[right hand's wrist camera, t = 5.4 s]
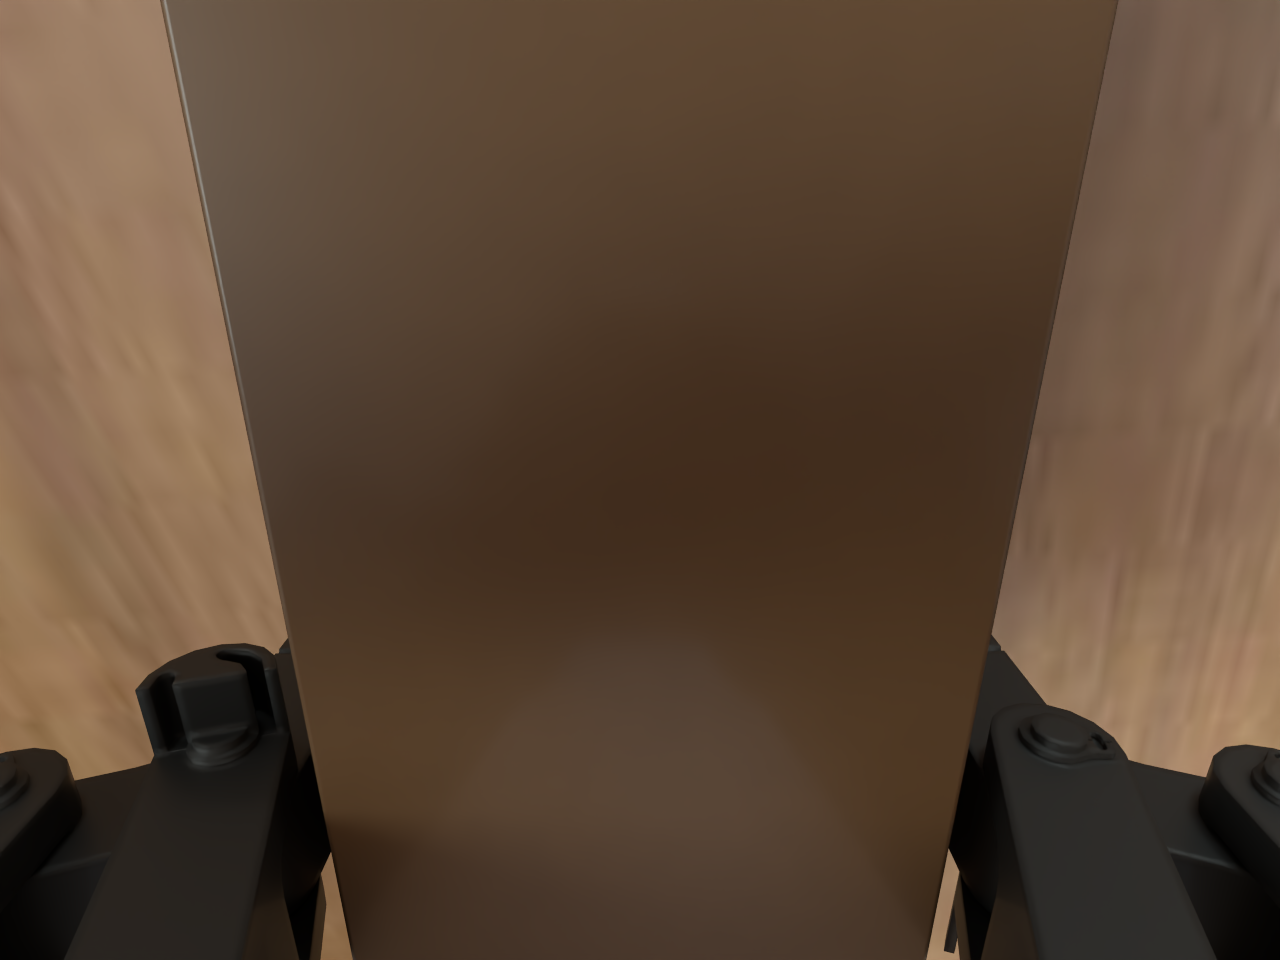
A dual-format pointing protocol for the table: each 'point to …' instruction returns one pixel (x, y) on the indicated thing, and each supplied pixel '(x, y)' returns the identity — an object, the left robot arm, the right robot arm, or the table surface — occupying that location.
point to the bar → (639, 439)
